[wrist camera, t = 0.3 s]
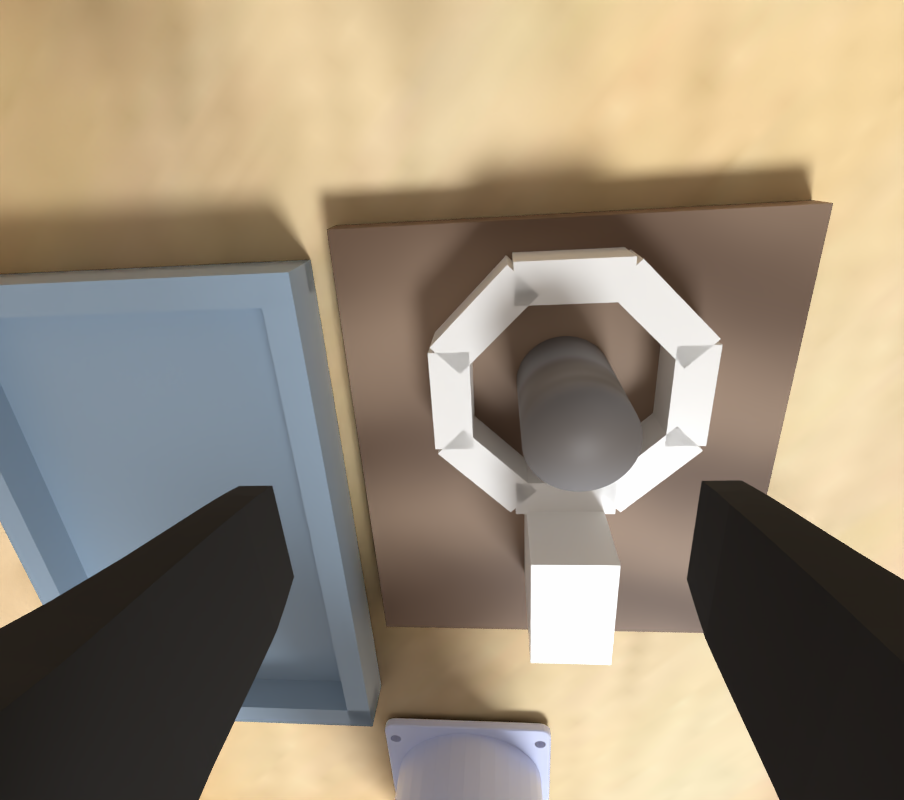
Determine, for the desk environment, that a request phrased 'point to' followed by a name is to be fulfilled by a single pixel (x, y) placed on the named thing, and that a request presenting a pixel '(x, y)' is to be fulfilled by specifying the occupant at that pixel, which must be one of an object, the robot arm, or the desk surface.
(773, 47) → the desk surface
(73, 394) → the tray
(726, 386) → the stake board
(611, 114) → the desk surface
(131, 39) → the desk surface
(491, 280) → the ring
